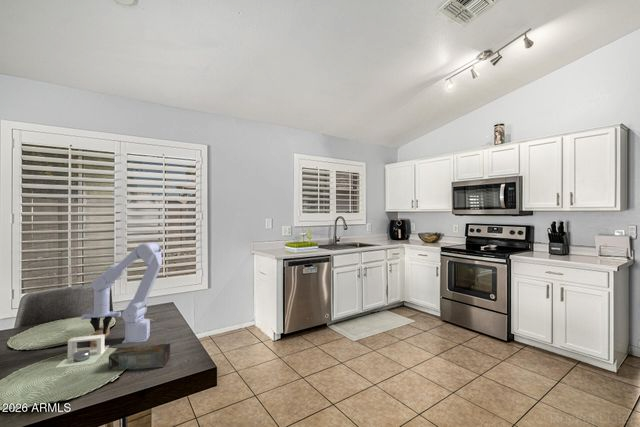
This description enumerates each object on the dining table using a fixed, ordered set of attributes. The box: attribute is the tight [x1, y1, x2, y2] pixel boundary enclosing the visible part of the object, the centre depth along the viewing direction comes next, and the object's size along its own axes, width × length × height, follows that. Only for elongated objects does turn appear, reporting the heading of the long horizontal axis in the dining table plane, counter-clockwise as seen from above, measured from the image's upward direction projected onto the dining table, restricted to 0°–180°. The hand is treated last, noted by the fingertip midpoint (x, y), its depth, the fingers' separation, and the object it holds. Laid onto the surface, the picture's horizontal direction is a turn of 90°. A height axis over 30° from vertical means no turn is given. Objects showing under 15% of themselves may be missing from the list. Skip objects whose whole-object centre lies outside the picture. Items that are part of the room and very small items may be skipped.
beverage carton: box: [107, 343, 171, 371], centre depth 117 cm, size 8×19×7 cm, turn 102°
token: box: [73, 350, 90, 362], centre depth 119 cm, size 5×5×2 cm
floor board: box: [54, 344, 111, 368], centre depth 122 cm, size 12×17×1 cm
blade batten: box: [89, 323, 111, 347], centre depth 138 cm, size 2×16×5 cm, turn 18°
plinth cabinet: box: [67, 334, 106, 358], centre depth 124 cm, size 11×4×7 cm, turn 107°
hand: (101, 334), depth 139 cm, fingers closed on blade batten, 2 cm apart
